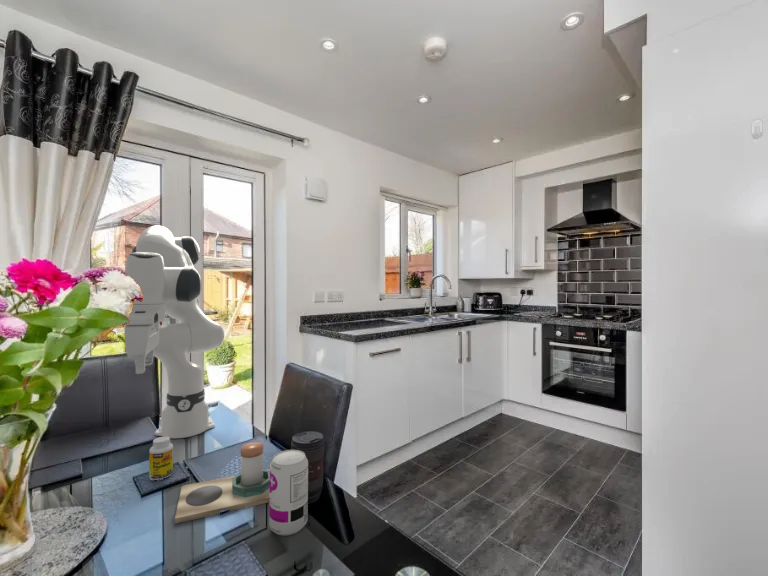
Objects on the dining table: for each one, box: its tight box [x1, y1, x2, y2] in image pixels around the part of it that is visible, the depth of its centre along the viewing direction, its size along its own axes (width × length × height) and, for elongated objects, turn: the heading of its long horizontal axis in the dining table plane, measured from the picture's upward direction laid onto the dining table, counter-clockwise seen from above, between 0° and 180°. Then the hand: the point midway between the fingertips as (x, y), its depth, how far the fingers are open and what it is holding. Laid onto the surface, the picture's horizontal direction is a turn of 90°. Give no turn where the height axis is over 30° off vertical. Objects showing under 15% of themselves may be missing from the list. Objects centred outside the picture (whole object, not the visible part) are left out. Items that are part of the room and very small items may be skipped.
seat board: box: [174, 468, 270, 525], centre depth 89 cm, size 14×22×3 cm, turn 114°
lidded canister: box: [240, 441, 264, 487], centre depth 91 cm, size 6×6×10 cm
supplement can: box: [268, 449, 309, 536], centre depth 79 cm, size 8×8×15 cm
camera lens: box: [290, 430, 325, 504], centre depth 89 cm, size 8×8×15 cm
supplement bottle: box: [148, 436, 174, 481], centre depth 98 cm, size 6×6×10 cm
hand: (144, 368), depth 91 cm, fingers open, 8 cm apart
